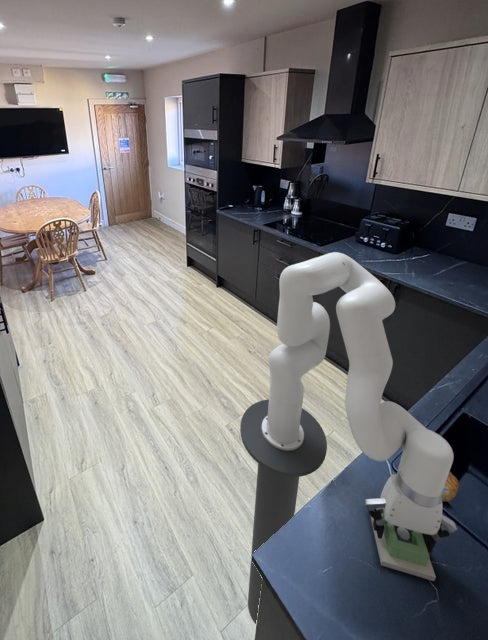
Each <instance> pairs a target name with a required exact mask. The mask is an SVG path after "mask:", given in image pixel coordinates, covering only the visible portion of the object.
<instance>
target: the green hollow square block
mask: <svg viewBox="0 0 488 640" xmlns="http://www.w3.org/2000/svg"><path fill="white" fill-rule="evenodd" d="M382 517H385V515H384V513H382ZM398 527H399V526H395V525H392V524H390V523H387V524H384V532H383V533H384V537H385V541H386V545H387V549H388V553H389V556H391V557H395V558H398V559H402V560H405V561H409V562H412V563H415V564H419V565H422V566H425V567H426V565H427V562H428V560H429V558H430V557H431V556H430V553H429V552H428V550H427V547H426V544H425V542H424V539H423V536H422V534H423V533H420V532H417V531H413V530H409V529H406V528H405V529H406V530H407V531H408V532H409V535H410V540H411V543H412V544H410V543H406V542H403V541H399V540H398V539H397V536H396V532H397V528H398ZM395 531H396V532H395Z"/></svg>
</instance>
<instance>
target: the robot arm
mask: <svg viewBox="0 0 488 640" xmlns="http://www.w3.org/2000/svg"><path fill="white" fill-rule="evenodd" d="M278 285H279V286H278V287H279V301H278V311H277V321H276V332H277V337H278V339H279V341H280V342H281V344H279V345H278V346H276V347H275V348H274V349H273V350H272V351H271V352H270V353H269V356H268V367H269V375H270V376H269V377H270V381H269V392H268V399H269V405H268V416H266V417H265V418H264V420H263V422H262V433H263V436H264V438H265V439H266V440H267V441H268V442H269V443H270V444H271V445H272V446H274V447H275V448H278V449H280V450H285V451H291V450H295V449H297V448H299V447H300V446H301V445H302V443H303V440H304V432H303V429H302V427H301V425H300V419H301V411H302V408H303V403H304V402H303V401H304V394H305V388H304V384H303V382H302V378H303V376H305V375H306V374H308V373H309V372H310V371H311V370H313V369H314V368H316V367H318V366H319V365H321V363H322V362H323V361H324V359H325V358H326V354H327V349H328V343H329V338H330V337H329V336H330V330H331V321H330V320H331V319H330V316H329V314H328V312H327V310H326V308H325V307H324V306H322V304H320V303H318V302H316V301H314V298H313V296H315V295H316V296H317V295H322V294H325V293H328V292H330V291H332V290H335V289H337V288H340V289H341V290H342V291H343V292H344V293H345V294H343V295H342V296H341V297H340V298H339V299H338V300H337V301H336V305H335V312H336V318H337V321H338V324H339V328H340V332H341V337H342V339H343V343H344V347H345V351H346V355H347V359H348V362H349V363H348V365H349V367H348V371H347V378H346V384H345V385H346V386H345V394H344V395H345V396H344V400H345V401H344V406H345V412H346V417H347V421H348V425H349V428H350V431H351V435H352V437H353V439H354V442H355V443H356V445H357V447H358V448H359V450H360V451H361V452H362V453H363V455H365V456H366V457H368V458H369V459H371V460H373V461H376V462H386V461H388V460H390V459H391V457H393V456H394V455H395V453H397V452H398V451H399V449H400V448H401V449H402V453H401V457H400V461H399V464H398V467H397V471H396V473H393V474H391V475H390V476H389V478H388V479H387V480H386V481H385V484H384V486H383V488H382V491H381V493H380V497H377V498H376V497H375V498H373V497H372V498H364V506H365V508H366V509H367V511H368V513H369V517H370V516H371V517H372V518H373V519H374V521H373V526H372V528H373V527H374V530H375V531H376V532H377V536H378V538H380V539H381V538H382V536H383V532H384V524H387V523H390V524H392V525H395V526H399V527H402V528H406V529H409V530H413V531H417V532H420V533H422V536H423V539H424V542H425V544H426V547H427V550H428V553H429V554H432V553H433V549H434V548H435V546H436V543H437V542H438V543H439V542H441V540H442V539H441V538H447V537H449V536H450V534H452V533H454V532H456V531H457V530H458V528H457V526H456V523H455V522H454V520H452V519H450V518H449V517H447V516H445V515H444V514H443V501H442V497H441V496H442V494H445V493H447V494H449V488H448V486H445V483H446V480H447V477H448V474H449V472H451V469H452V465H453V462H454V458H455V457H454V456H455V455H454V451H453V448H452V447H451V445H450V443H449V442H448V441H447V439H445V438H444V437H443V436H441V435H440V434H439V433H437V432H435V431H433V430H432V429H431V430H430V429H428V428H427V427H425V426H424V425H423V424H422V423H421V422H420V421H419V420H418V419H416V418H415V417H414V416H413V415H412V414H411V413H409V411H407V410H406V408H404V407H402V406H401V405H399V404H397V403H396V402H394V401H390V400H389V401H388V400H386V401H383V402H382V398H383V393H384V391H385V388H386V386H387V382H388V381H389V379H390V376H391V373H392V370H393V365H394V361H393V357H392V353H391V349H390V345H389V342H388V338H387V335H386V331H385V327H384V323H383V320H385V319H386V318H388V317H389V316H391V315H392V314H393V313H394V311H395V309H396V301H395V298H394V295H393V294H392V292H391V291H390V290H389V289H388V287H386V286H385V284H383V283H382V282H381V281H380V280H379V278H377V277H376V276H374V275H373V274H372V273H371V272H369V271H368V270H367V269H366V268H365V267H363V266H362V265H360V264H359V263H358V261H355V259H353V258H352V257H350V256H349V255H347V254H345V253H342V252H337V251H333V252H328V253H325V254H323V255H320V256H316V257H313V258H310V259H308V260H305V261H302V262H298V263H294V264H291V265H288V266H287V267H285V268H284V269H283V270H282V272H281V273H280V276H279V284H278ZM382 513H384V515H385V517H382V515H381V514H382ZM371 517H370V518H371Z"/></svg>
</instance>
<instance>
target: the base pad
mask: <svg viewBox="0 0 488 640" xmlns="http://www.w3.org/2000/svg"><path fill="white" fill-rule="evenodd" d="M381 515H382V514H381ZM369 517H370V521H371V527H372V530H373V535H374V540H375V544H376V548H377V553H378V557H379V561H380V565H381V566H382V567H386V568H389V569H392V570H394V571H395V570H396V571H399V572H403V573H406V574H409V575H412V576H416V577H419V578H421V579H425V580H428V581H430V582H431V581H432V582H435V581H436V578H437V576H436V574H435V571H434V567H433V564H432V562H431V558H430V557H429V560H428V562H427V565H426V567H425V566H422V565H419V564H415V563H412V562H409V561H405V560H402V559H398V558H395V557H391V556H389V553H388V549H387V545H386V541H385V537H384V533H383V536H382V538H381V539H380V538H378V536H377V532H376V531H375V530H374V527H373V521H374V519H373V518H372V517H371V516H370V515H369ZM395 532H396V531H395ZM396 536H397V539H398V540H399V541H403V542H406V543H410V544H412V543H411V540H410V535H409V532H408V531H407V530H406V529H405V528H402V527H398V528H397V532H396Z"/></svg>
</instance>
